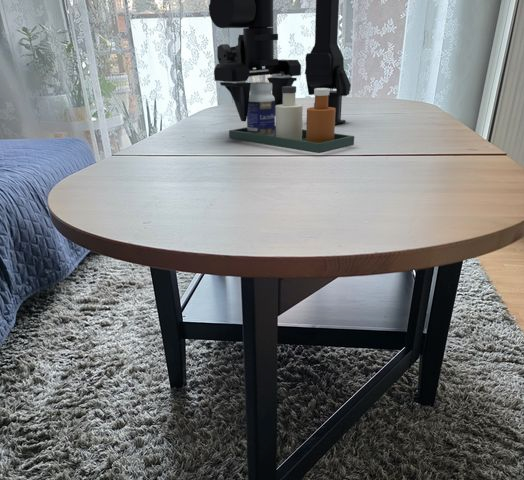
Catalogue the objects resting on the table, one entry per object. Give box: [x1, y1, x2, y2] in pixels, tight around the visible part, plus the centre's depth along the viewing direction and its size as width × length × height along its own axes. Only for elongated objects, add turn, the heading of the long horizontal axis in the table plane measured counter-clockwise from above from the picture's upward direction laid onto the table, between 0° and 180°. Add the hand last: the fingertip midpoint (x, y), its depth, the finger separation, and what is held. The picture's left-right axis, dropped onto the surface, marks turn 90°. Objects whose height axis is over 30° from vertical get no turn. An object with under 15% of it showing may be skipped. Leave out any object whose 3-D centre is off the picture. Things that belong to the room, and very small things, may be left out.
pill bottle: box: [246, 81, 276, 136], centre depth 103 cm, size 6×6×10 cm
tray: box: [228, 125, 355, 154], centre depth 100 cm, size 10×24×2 cm, turn 44°
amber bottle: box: [305, 88, 336, 143], centre depth 93 cm, size 5×5×10 cm
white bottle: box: [275, 85, 304, 140], centre depth 98 cm, size 5×5×10 cm
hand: (260, 118), depth 103 cm, fingers open, 9 cm apart
